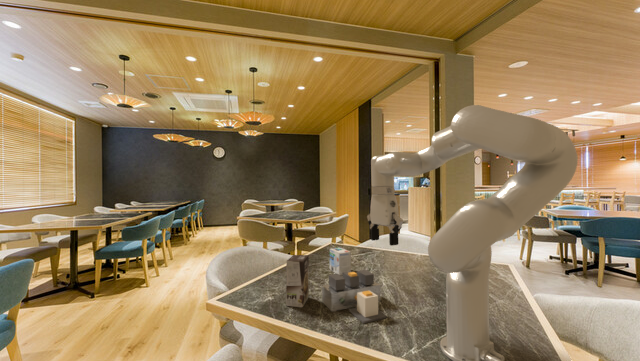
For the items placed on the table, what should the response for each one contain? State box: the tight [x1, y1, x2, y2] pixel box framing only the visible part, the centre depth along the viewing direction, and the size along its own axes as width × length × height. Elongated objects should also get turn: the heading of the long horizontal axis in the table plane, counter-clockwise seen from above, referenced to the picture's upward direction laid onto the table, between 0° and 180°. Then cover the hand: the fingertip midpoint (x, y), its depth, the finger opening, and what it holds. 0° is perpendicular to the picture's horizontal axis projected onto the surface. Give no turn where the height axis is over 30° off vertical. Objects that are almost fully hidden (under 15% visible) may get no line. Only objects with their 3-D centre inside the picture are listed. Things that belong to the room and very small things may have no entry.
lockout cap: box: [356, 290, 379, 317], centre depth 88 cm, size 5×5×7 cm
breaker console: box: [321, 281, 381, 312], centre depth 98 cm, size 8×20×6 cm, turn 113°
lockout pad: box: [348, 307, 388, 324], centre depth 88 cm, size 9×9×1 cm
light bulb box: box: [329, 247, 352, 276], centre depth 132 cm, size 11×7×11 cm, turn 25°
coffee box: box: [285, 254, 310, 308], centre depth 98 cm, size 9×6×16 cm
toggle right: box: [356, 269, 375, 285], centre depth 100 cm, size 6×4×4 cm, turn 23°
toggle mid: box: [341, 270, 359, 287], centre depth 99 cm, size 6×4×4 cm, turn 23°
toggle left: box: [328, 273, 345, 291], centre depth 96 cm, size 6×4×4 cm, turn 23°
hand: (384, 242), depth 90 cm, fingers open, 9 cm apart
